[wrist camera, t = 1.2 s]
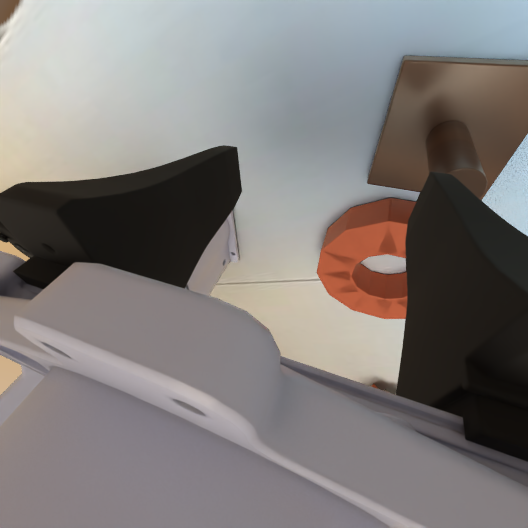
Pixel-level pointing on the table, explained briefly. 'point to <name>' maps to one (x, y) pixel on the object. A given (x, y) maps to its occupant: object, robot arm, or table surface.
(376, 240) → the ring
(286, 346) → the table surface
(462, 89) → the brown peg stand
